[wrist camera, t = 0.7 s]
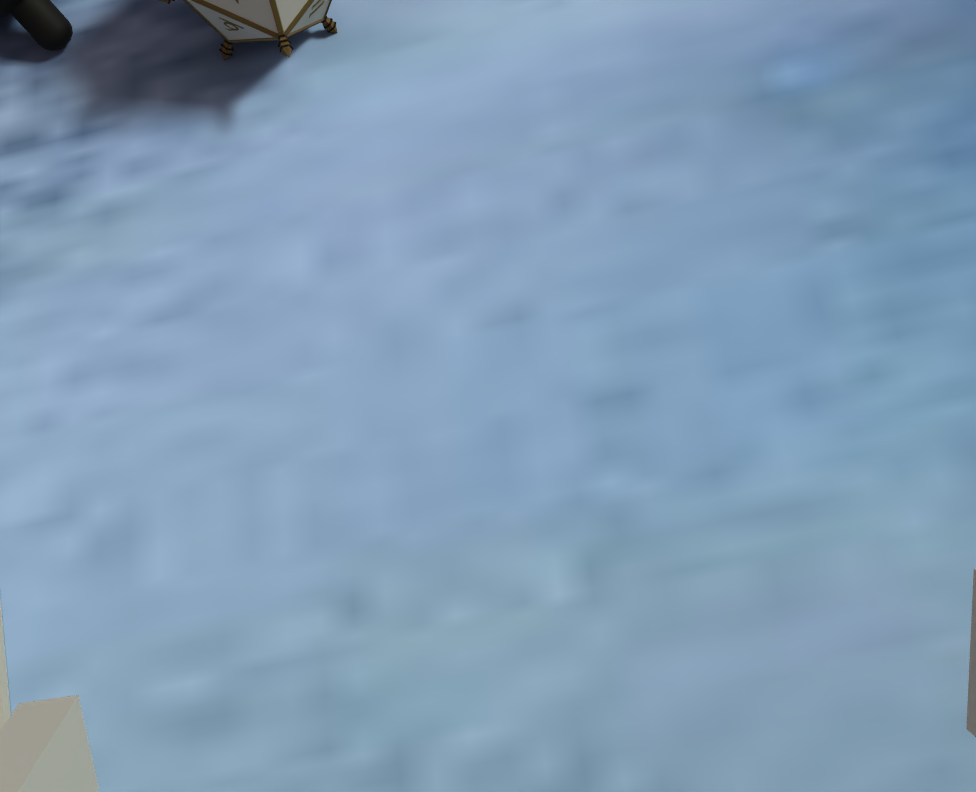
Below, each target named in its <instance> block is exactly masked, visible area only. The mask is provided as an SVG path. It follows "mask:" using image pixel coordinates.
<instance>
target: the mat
mask: <svg viewBox="0 0 976 792" xmlns="http://www.w3.org/2000/svg"><path fill="white" fill-rule="evenodd" d="M10 716H11V713H10V702H9V690H8V679H7V668H6V656H5V645H4V634H3V622H2V611H1V600H0V730H1V728H2V727H3V726H4V724H5V723H6V721H7V720H8V719H9V717H10Z"/></svg>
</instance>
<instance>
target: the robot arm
mask: <svg viewBox="0 0 976 792" xmlns="http://www.w3.org/2000/svg"><path fill="white" fill-rule="evenodd" d="M967 730H968V731H969V732H971V733H972V734H973V735H974V736H975V737H976V569H974V577H973V599H972V620H971V642H970V664H969V685H968V707H967ZM0 792H99V788H98V783H97V779H96V774H95V770H94V765H93V760H92V756H91V751H90V746H89V742H88V737H87V733H86V728H85V723H84V719H83V714H82V710H81V705H80V700H79V696H78V695H76V696H69V697H61V698H54V699H47V700H40V701H33V702H26V703H20V704H19V705H18V706H17V708H16V709H15V710H14V712H13V713H12V715H11V716H10V717H9V719H8V720H7V721H6V723H5V724H4V726H3V727H2V728H1V730H0Z"/></svg>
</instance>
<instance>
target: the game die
mask: <svg viewBox="0 0 976 792" xmlns="http://www.w3.org/2000/svg"><path fill="white" fill-rule="evenodd" d="M159 1H164V2H167V3H169V4H170V1H172V0H159ZM173 1H174V0H173ZM184 1H185V2H186V3H187V4H188V5H189V6H190V7H191V8H192V9H193V10H194V11H196V12H197V13H198V14H199V15H200V16H201V17H202V18H203V19H204V20H205V21H206V22H207V23H208V24H209V25H210V26H211V27H213V28H214V29H215V30H216V31H217V32H218V33H219V34H220V35H221V36H222V37H223V38H224V39H225V42H224V43H223V44H221V46H222V47H221V49H219V50H220V51H221V53H222V56H223V59H224V60H225V59H226V58H227V57H229V56H230V55H231V56H232V51H233V47H232V44H233V43H239V42H255V41H271V40H279V44H278V47H280V52H281V53H283V54H285V55H286V56H287V57H289V56H290V53H291V51H292V50H293V47H292V46H291V42H290V41H289V40H288V39H287V38H288V37H290V36H292V35H295V34H297V33H299V32H301V31H303V30H305V29H307V28H310V27H312V26H314V25H316V24H318V23H320V22H321V23H323V26H324V28H325V29H327V31H328V33H329V32H334V33H337V29H336V22H333V21H332V18H328V17H327V16H326V15H327V12H328V9H329V6H330V4H331V1H332V0H184Z"/></svg>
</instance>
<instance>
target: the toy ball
mask: <svg viewBox="0 0 976 792" xmlns="http://www.w3.org/2000/svg"><path fill="white" fill-rule="evenodd" d="M8 13H11V14H12V16H13V17H14V18H15V19H16V20H17V21H18V22H19V23H20V24H21V25H22V26H23V27H24V28H25V29H26V30H27V32H28V33H29V34H30V35H31V36H32V37H33V38H34V39H35V40H36V41H37V42H38V43H39V45H41V46H42V47H44V48H45V49H49V50H57V49H61V48H62V47H64V46H66V45H67V44H68V42H69V41H70V40H71V37H72V34H73V32H72V26H71V24H70V22H69V21H68V20H67V19H66V18H65V16H64V15H63V14H62V13H61V12H60V11H59V10H58V9H57V8H56V7H55V6H54V4H53V3H52V2H51V1H50V0H0V17H2V16H4V15H6V14H8Z"/></svg>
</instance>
